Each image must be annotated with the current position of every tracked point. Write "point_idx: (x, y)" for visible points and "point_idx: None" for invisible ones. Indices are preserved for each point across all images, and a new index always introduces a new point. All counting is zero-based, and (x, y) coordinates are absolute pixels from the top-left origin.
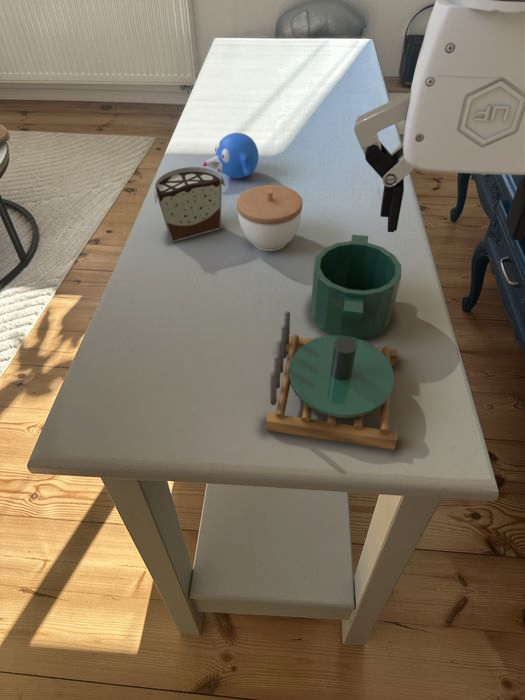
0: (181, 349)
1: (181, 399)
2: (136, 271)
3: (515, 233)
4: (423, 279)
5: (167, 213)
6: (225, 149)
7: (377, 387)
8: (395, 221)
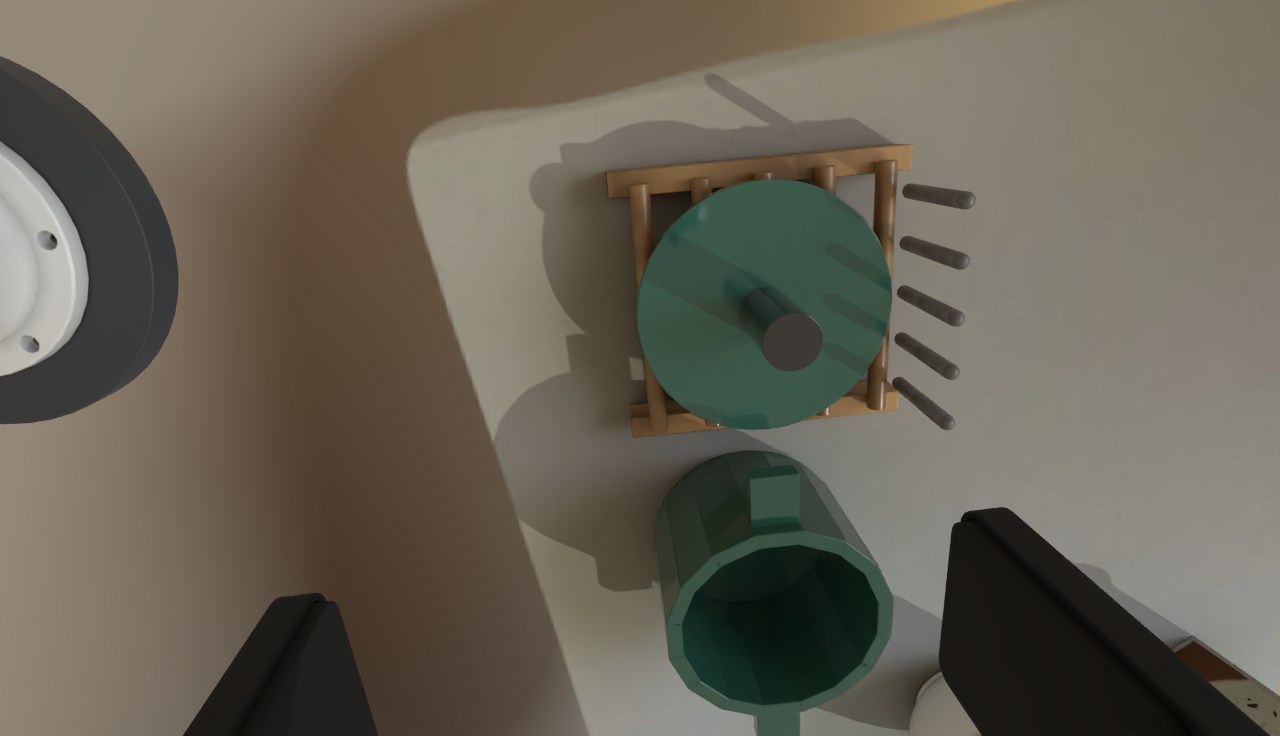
0: (1124, 322)
1: (1103, 177)
2: (1267, 526)
3: (306, 623)
4: (591, 668)
5: (1269, 704)
6: None
7: (674, 289)
8: (1015, 550)
